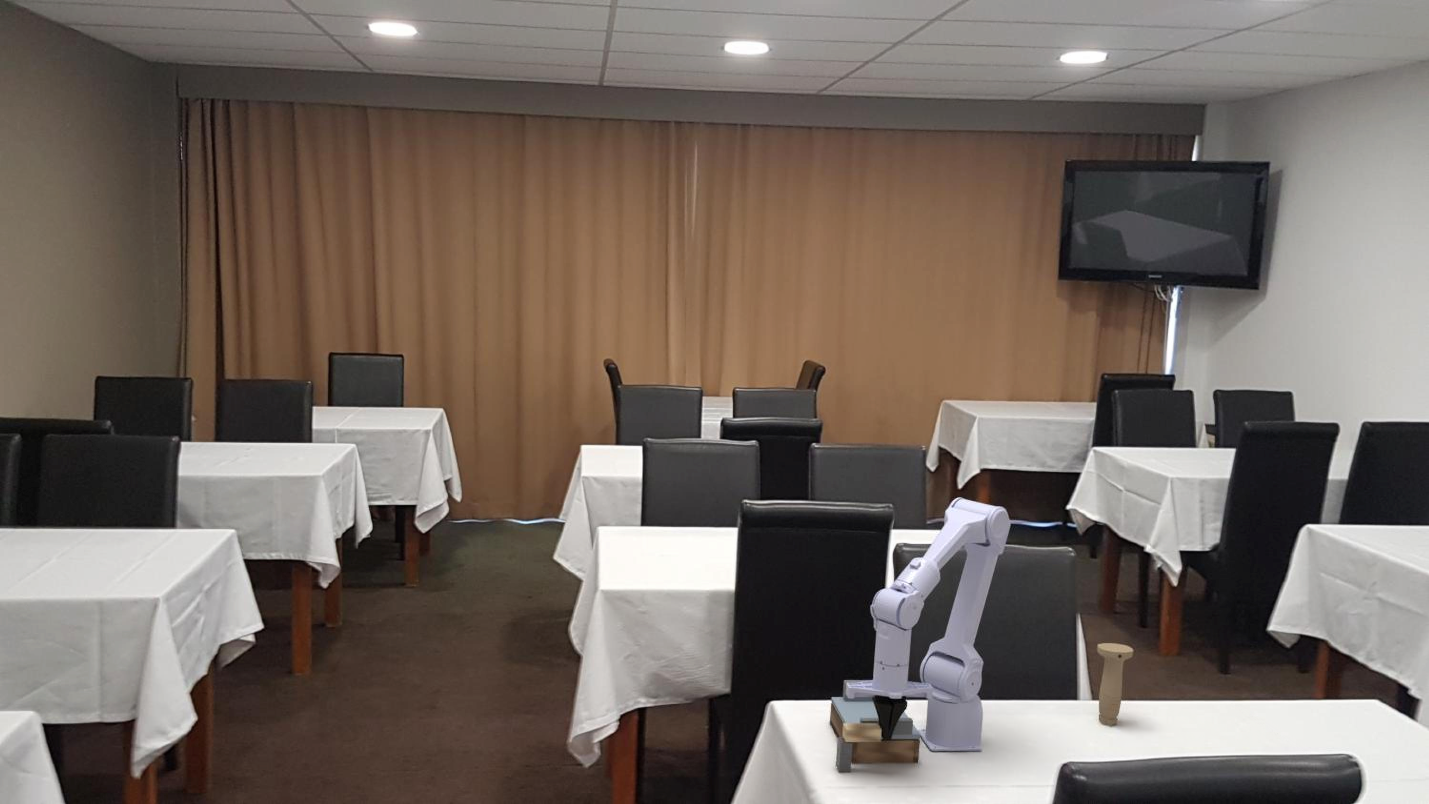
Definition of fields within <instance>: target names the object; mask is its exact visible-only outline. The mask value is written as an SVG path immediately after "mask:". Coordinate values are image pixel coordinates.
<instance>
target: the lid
mask: <svg viewBox="0 0 1429 804" xmlns="http://www.w3.org/2000/svg"><path fill="white" fill-rule="evenodd" d="M870 680H871V679H862V680H860V679H856V680H855V679H846V680H845V679H844V680H843V689H842V696H832V697H831V698H830V699H831V700H830V702H831V703H832V704H833V705H834V707H835V709H836V711H837V713H838V715H839V716H840V718H841V720H842V722H843V723H878V725H879V726H880V724H879V719H878V715H877V711H876V708H875V705H874V703H873V700H872V698H871V697H855V698H853V699H849V698H848V697H847V695H846V683H857V682H864V681H870ZM918 730H919V729H917V727H916V726H915V725H914V720H913V718H912V717H909V716H908V715H907V713H906V711H904V712H903V714H902V715H901V717H900V718H899V720H898V722H897V724H896V727H895V729H894V732H893V735H892V739H919V740H920V739H921V736H920V733H919V732H918ZM881 739H883V738H882V737H881Z"/></svg>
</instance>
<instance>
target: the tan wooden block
mask: <svg viewBox="0 0 1429 804" xmlns="http://www.w3.org/2000/svg"><path fill="white" fill-rule="evenodd" d="M881 730H882V729H881V728H880V726H879V725H878V723H843V735H842V736H843V738H844V740H845V742H881Z"/></svg>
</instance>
